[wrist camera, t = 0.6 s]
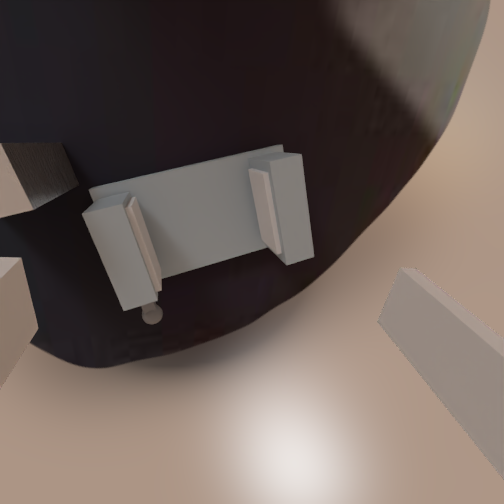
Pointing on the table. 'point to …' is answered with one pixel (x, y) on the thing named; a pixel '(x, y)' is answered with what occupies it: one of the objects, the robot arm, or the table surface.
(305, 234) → the vise
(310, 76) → the table surface
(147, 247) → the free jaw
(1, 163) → the steel block
